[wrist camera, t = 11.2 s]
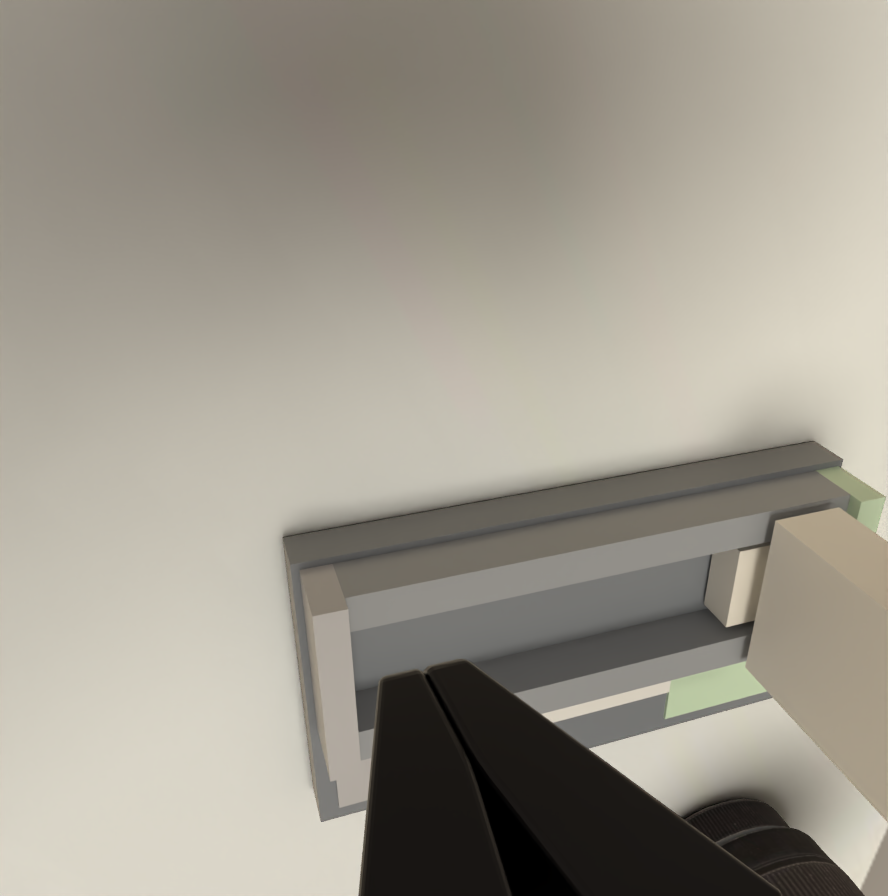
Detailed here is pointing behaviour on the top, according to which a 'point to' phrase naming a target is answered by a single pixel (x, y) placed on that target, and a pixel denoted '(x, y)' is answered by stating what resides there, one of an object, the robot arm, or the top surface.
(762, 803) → the camera lens
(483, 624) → the switch board
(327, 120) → the top surface
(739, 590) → the slider tab
